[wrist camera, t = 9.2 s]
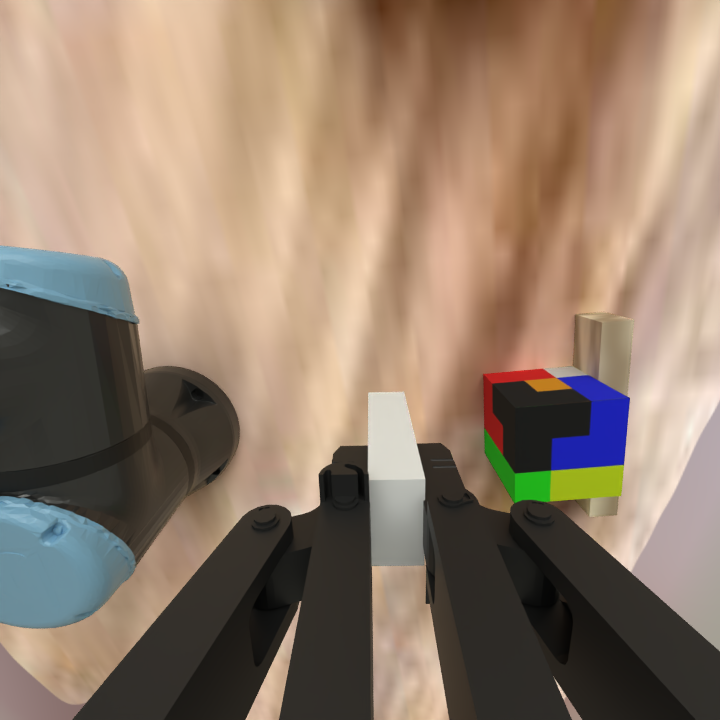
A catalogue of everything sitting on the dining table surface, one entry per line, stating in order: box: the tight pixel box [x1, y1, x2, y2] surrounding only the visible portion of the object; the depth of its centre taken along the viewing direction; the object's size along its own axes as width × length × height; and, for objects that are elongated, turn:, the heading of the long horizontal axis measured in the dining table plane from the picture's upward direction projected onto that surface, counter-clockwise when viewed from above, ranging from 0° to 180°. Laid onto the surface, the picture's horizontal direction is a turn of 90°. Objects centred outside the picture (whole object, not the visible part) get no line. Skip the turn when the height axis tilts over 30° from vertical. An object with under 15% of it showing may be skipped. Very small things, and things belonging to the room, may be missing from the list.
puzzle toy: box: [483, 366, 630, 503], centre depth 41 cm, size 10×10×10 cm
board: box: [573, 312, 634, 517], centre depth 43 cm, size 3×22×5 cm, turn 6°
